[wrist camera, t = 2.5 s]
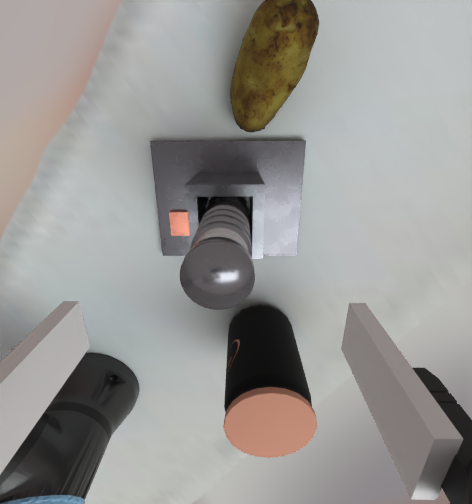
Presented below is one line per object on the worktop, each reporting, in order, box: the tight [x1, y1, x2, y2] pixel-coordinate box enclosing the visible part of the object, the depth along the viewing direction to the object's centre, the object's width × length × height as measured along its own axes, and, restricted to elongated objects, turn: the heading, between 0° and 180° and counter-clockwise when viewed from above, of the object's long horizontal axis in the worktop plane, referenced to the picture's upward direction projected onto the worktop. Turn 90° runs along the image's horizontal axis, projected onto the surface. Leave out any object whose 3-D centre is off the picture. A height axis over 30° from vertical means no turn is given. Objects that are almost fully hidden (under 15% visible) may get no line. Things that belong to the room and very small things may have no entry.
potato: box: [230, 0, 319, 132], centre depth 31 cm, size 8×13×8 cm, turn 138°
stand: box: [150, 141, 306, 259], centre depth 36 cm, size 20×16×11 cm
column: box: [180, 196, 255, 309], centre depth 30 cm, size 5×5×22 cm
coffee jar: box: [224, 305, 317, 457], centre depth 41 cm, size 11×11×18 cm
